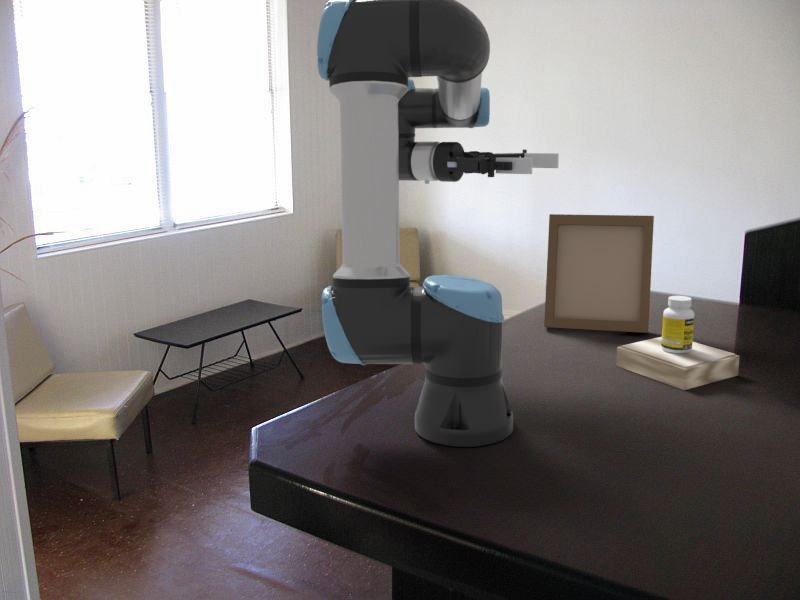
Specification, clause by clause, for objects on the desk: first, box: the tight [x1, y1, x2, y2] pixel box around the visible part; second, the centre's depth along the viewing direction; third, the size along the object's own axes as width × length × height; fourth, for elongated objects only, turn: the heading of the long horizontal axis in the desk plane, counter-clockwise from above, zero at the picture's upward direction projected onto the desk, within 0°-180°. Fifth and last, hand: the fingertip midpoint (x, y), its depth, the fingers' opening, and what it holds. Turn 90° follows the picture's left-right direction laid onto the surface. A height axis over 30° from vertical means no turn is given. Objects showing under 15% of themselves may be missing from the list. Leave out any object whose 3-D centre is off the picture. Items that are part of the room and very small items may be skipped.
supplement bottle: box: [661, 295, 696, 354], centre depth 145 cm, size 5×5×10 cm
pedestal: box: [615, 336, 740, 391], centre depth 147 cm, size 14×16×4 cm
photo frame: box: [543, 213, 655, 334], centre depth 175 cm, size 15×22×25 cm
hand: (545, 163), depth 143 cm, fingers open, 13 cm apart
